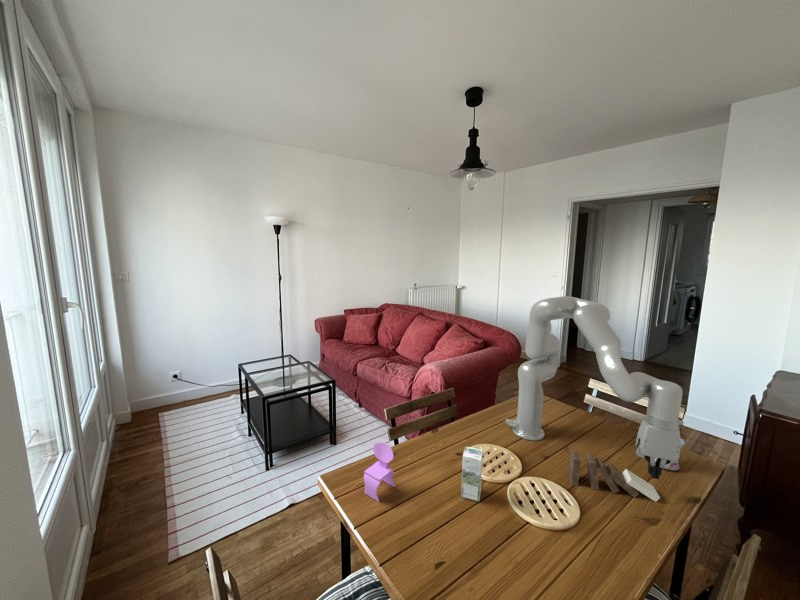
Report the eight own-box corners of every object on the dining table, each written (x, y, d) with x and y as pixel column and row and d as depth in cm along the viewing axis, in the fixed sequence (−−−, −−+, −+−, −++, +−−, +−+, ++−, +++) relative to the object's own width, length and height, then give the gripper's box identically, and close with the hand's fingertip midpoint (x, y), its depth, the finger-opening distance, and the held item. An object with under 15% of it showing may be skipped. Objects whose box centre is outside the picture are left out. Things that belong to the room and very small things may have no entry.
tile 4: (571, 484, 107) (573, 459, 106) (568, 474, 112) (571, 450, 111) (578, 485, 107) (580, 460, 105) (575, 475, 112) (577, 451, 110)
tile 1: (634, 497, 102) (609, 476, 103) (628, 486, 107) (605, 466, 108) (639, 494, 101) (614, 472, 103) (633, 483, 106) (610, 462, 107)
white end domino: (655, 502, 100) (627, 483, 102) (649, 490, 105) (622, 473, 107) (660, 497, 99) (631, 479, 101) (653, 486, 104) (626, 468, 106)
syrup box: (481, 489, 104) (483, 448, 102) (479, 503, 99) (481, 459, 97) (463, 485, 106) (465, 444, 104) (460, 498, 101) (462, 455, 99)
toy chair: (360, 492, 103) (360, 448, 101) (378, 477, 110) (378, 436, 108) (380, 504, 98) (380, 459, 96) (398, 488, 105) (398, 445, 103)
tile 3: (591, 488, 105) (589, 462, 105) (588, 478, 110) (585, 453, 109) (598, 489, 105) (596, 463, 104) (595, 478, 110) (592, 453, 109)
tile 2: (613, 493, 104) (597, 468, 104) (608, 482, 108) (593, 458, 109) (619, 491, 103) (603, 466, 103) (614, 480, 108) (599, 456, 108)
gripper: (685, 419, 100) (676, 473, 103) (628, 411, 105) (622, 463, 107) (698, 432, 93) (689, 490, 96) (637, 423, 98) (630, 478, 100)
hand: (653, 475), depth 102 cm, fingers closed
